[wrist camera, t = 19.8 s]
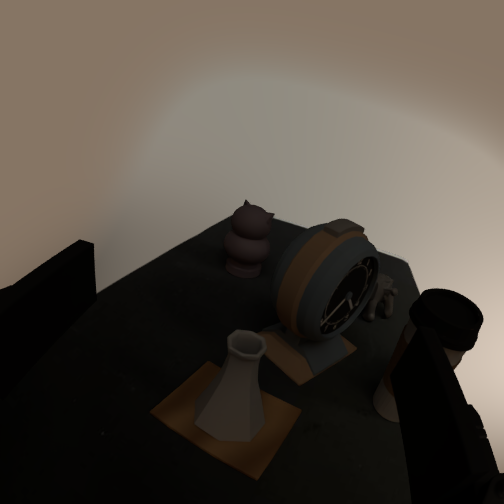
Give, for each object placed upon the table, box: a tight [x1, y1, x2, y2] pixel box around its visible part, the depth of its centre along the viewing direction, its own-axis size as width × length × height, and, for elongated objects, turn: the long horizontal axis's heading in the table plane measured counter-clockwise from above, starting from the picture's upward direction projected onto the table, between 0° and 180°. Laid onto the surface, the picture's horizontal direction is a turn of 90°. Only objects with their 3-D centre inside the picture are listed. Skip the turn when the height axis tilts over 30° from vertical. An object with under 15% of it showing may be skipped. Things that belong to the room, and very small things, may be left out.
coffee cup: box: [373, 288, 483, 422], centre depth 29 cm, size 8×8×15 cm
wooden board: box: [150, 361, 302, 481], centre depth 28 cm, size 12×10×1 cm
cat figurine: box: [224, 200, 274, 278], centre depth 55 cm, size 8×8×12 cm
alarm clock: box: [256, 219, 380, 386], centre depth 37 cm, size 14×10×18 cm
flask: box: [194, 330, 267, 442], centre depth 26 cm, size 7×7×10 cm
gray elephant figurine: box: [363, 273, 398, 321], centre depth 49 cm, size 9×12×8 cm
